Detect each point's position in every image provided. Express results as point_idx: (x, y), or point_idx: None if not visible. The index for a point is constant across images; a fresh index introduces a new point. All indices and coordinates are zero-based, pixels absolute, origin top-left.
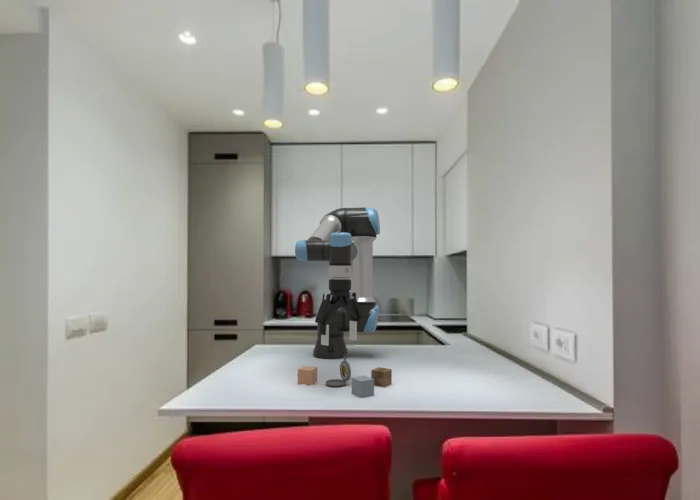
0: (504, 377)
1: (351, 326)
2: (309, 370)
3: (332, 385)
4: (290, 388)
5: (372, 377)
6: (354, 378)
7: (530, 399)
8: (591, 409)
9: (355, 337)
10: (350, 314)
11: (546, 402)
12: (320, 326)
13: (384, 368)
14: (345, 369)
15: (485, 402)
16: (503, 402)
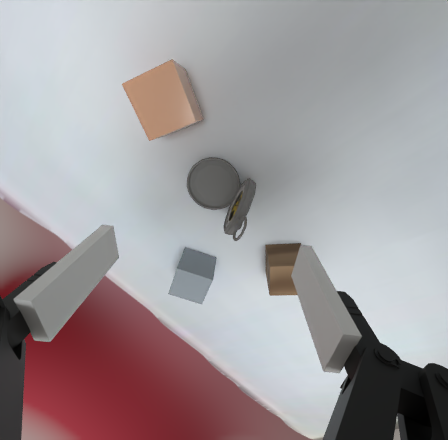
0: None
1: (320, 311)
2: (145, 132)
3: (190, 192)
4: (102, 107)
5: (267, 257)
6: (176, 275)
7: (320, 407)
8: (313, 436)
9: (297, 286)
10: (335, 420)
11: (316, 416)
12: (5, 301)
13: None
14: (234, 212)
15: (276, 382)
16: (289, 393)
